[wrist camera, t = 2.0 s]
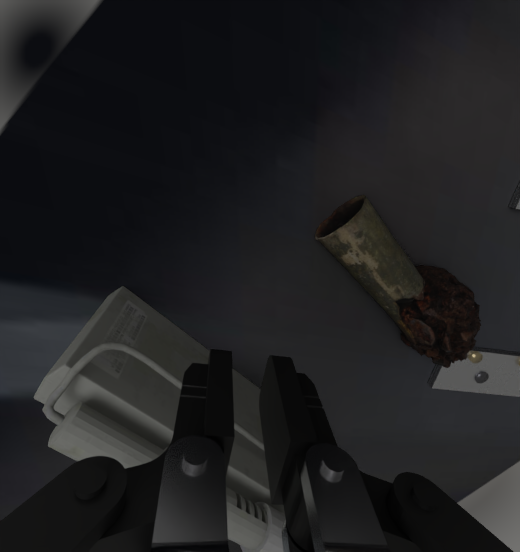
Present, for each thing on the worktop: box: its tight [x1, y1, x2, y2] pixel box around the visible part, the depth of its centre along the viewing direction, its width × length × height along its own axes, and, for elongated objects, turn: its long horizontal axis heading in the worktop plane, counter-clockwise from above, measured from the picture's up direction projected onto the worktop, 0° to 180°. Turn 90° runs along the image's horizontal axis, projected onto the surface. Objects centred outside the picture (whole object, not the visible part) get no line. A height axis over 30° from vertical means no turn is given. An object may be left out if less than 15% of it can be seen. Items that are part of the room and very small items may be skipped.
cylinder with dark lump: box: [315, 195, 481, 368], centre depth 27 cm, size 18×7×6 cm, turn 42°
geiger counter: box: [34, 286, 285, 552], centre depth 25 cm, size 14×6×25 cm
